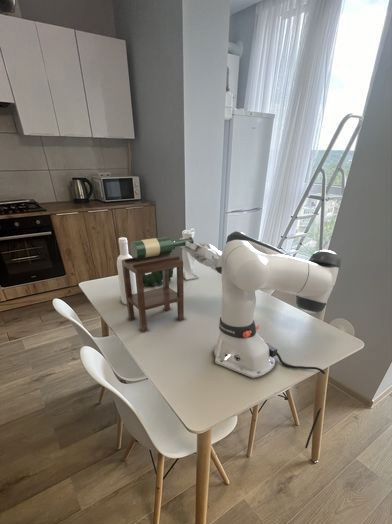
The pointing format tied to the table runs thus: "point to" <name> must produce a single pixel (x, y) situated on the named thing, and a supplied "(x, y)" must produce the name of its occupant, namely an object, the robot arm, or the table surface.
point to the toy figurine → (155, 277)
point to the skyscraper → (188, 258)
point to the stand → (156, 295)
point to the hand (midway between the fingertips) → (182, 241)
